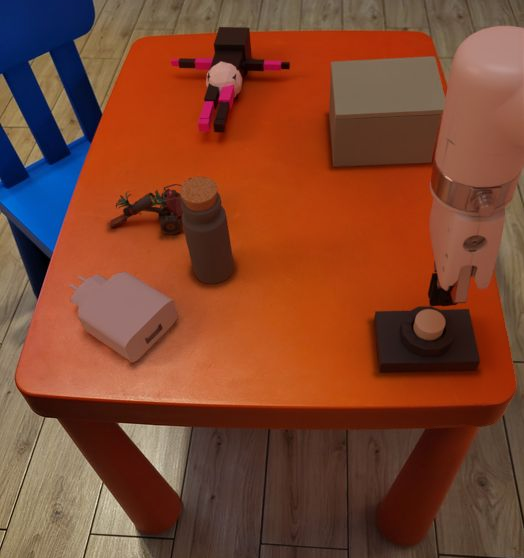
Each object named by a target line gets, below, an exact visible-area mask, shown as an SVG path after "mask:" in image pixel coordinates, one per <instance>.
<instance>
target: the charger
mask: <svg viewBox="0 0 524 558" xmlns="http://www.w3.org/2000/svg"><path fill="white" fill-rule="evenodd" d="M77 279H78V280H80V281H81V282H82V283H81V284H80V285H79V286H76V285H75V284H73V283H69V286H68V287H70V288H71V289H73V290H74V292H73V294H72V295H71V298H70V301H69V302H70V303H72V304H73V305H75V306H77V307H78V310H77V318H78V320H79V322H80V325H81V326H82V328H83V330H84V331H85V332H86V333H88V334H89V335H91V336H92V337H93V338H95V339H96V340H98V341H100V342H101V343H103V345H106V346H107V347H108V348H110V349H111V350H112V351H114V352H116V353H117V354H119V355H120V356H121V357H123V358H124V359H126V360H127V361H129V362H130V363H135V362H138V360H140V359H141V358H142V357H143V356H144V355H145V354H146V353H147V352H148V351H149V350H150V349H151V348H152V347H153V346H154V345H155V344H156V343H157V342H158V340H160V338H162V337H163V336H164V335H165V333H167V331H169V330H170V328H172V327H173V326H174V324H175V323H176V322H177V320H178V317H179V312H178V309H177V307H176V303H175V300H174V299H172V298H170V297H169V296H168V295H166V294H164V293H163V292H161V291H159V290H157V289H156V288H154V287H152V286H151V285H149V284H147V283H146V282H144V281H143V280H141V279H139V278H137V277H136V276H135V275H132V274H131V273H129V272H127V271H121V272H117V273H114V274H112V275H111V276H110V278H106V277H104V276H103V275H102V274H94V275H92V276H89V277H87V278H85V277H84V276H82V275H79V276H77Z"/></svg>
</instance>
